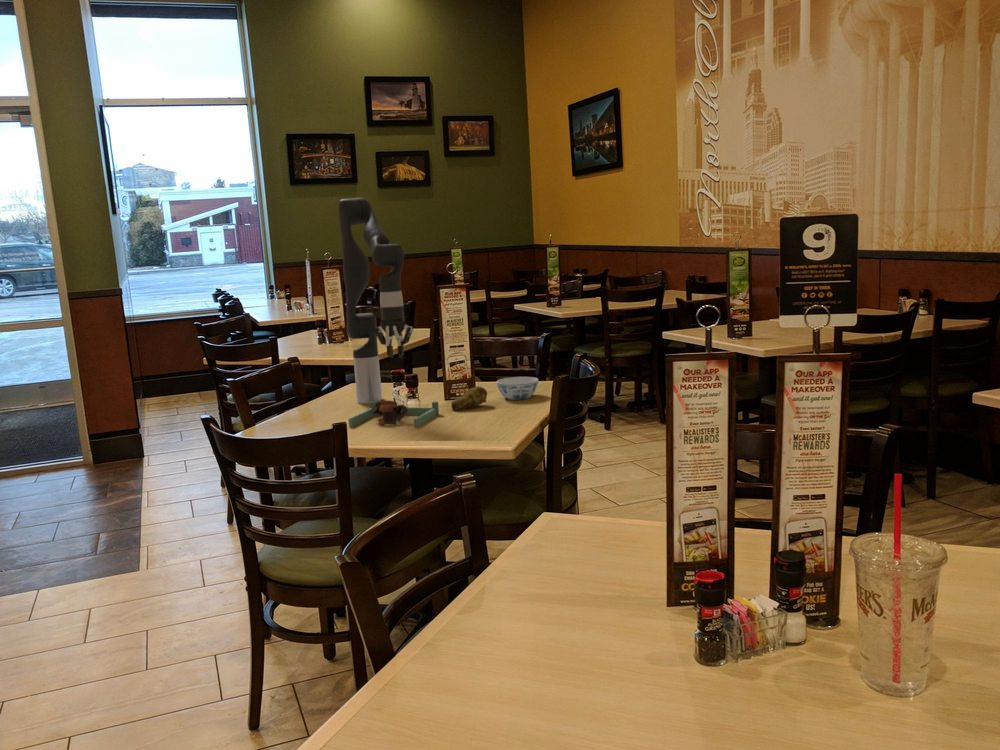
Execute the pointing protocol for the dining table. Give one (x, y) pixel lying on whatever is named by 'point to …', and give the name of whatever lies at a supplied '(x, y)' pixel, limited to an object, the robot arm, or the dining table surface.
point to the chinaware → (517, 387)
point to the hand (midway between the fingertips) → (395, 356)
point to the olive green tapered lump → (470, 399)
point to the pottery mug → (389, 412)
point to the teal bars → (423, 412)
